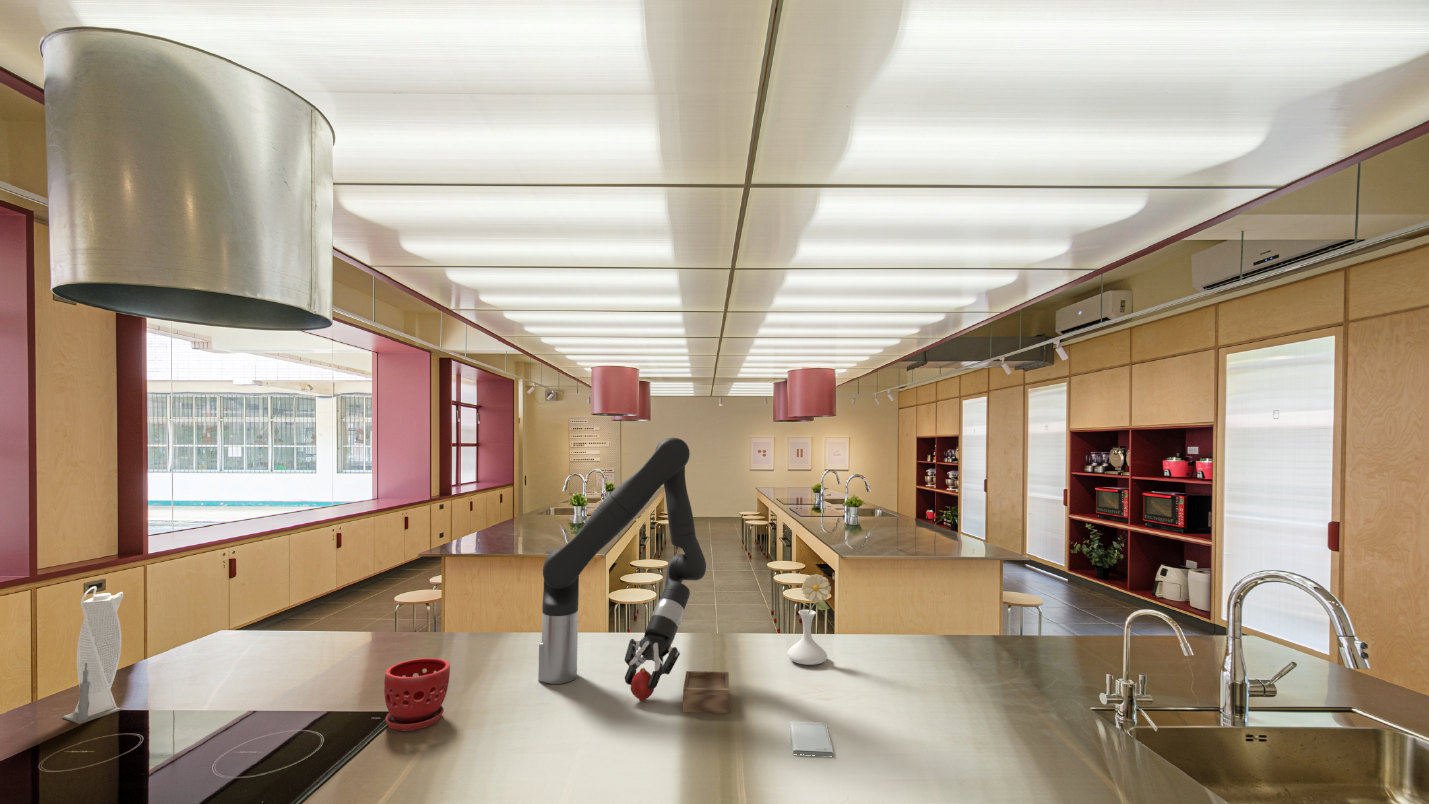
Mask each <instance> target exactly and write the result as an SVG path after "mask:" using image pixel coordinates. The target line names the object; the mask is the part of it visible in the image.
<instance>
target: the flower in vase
mask: <svg viewBox="0 0 1429 804" xmlns="http://www.w3.org/2000/svg"><path fill="white" fill-rule="evenodd" d="M830 585H831V583H830V582H829V579H828V578H827V577H824V576H823V575H821V574H818V573H816V574H811V575H810V576H808V577H807V576H806V577H805V579H804V580H803V583H802V585H801V591H802V594H803V597H804V598H806V600H808V601H812V602H813V605H811V607H810V609H800V610H799V611H798V614H799V615H800V617H801V621H802V629H803V630H802V637H801V639H800V640H799V641H797V642H796V643H795V644H793V645H792V646H791V647H790V648H789V649H788V650H787V653H786V656H787V657H788V659H789V660H791V662H794V663H797V664H799V665H806V666H814V665H815V666H816V665H819V664H822V663H824V662H826V661H827V658H828V654H827V652H826V651H825V650H824V648H823V647H821V645H819V644H818V643H817V642H816V641H815V640H814V639H813V636H812V623H813V619H814V617H815V615H816V614H817V612H816V611H815V610H813V607H815V606H816V608H817V610H819V611H827V610H829V609H831V608H830V606H829V605H828V604H827V603H826V602H825V600H827V599H828V595H830V593H831V589H832V587H831V586H830ZM798 601H799V602H800V603H801V604H804V605H805V606H807V607H809V604H807V603H805V602H803V601H801V600H800V599H798Z"/></svg>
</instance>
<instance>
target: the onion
mask: <svg viewBox="0 0 1429 804" xmlns="http://www.w3.org/2000/svg"><path fill="white" fill-rule="evenodd" d="M651 675H652V673H651V672H649V671H647V670H646V667H641V668H640V669H639V671H637V672H636V674H635V675H634V677H633V678H632V681H631V685H630V692H631V694H632V695H633V697H635V698H636V699H638V700H639V701H640V702H642V703H643V702H645V701H646V700H647V699H649V698H650V697H651V695H653V694H654V692H655V688H654V689H653V690H650V689H649V688H648V683H649V680H650V678H651Z"/></svg>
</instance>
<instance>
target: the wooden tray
mask: <svg viewBox="0 0 1429 804" xmlns="http://www.w3.org/2000/svg"><path fill="white" fill-rule="evenodd" d="M684 677H685V678H684V682H683V687H682V688H683V689H682V690H683V691H682V712H683V713H713V714H717V713H718V714H719V713H720V714H729V710H730V709H729V707H730V706H729V704H730V703H729V699H730V697H729V695H730V692H729V691H730V688H729V687H730V679H729V677H730V673H729V671H706V670H705V671H698V670H697V671H695V670H692V671H691V670H686V672H685V676H684Z"/></svg>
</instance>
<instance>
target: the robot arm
mask: <svg viewBox="0 0 1429 804" xmlns="http://www.w3.org/2000/svg"><path fill="white" fill-rule="evenodd" d="M690 456H691V455H690V448H689V445H688V444H687V443H686V442H685V441H684V440H683V439H680V438H679V437H668V438H665V439H663V440H660V442H659V443H658V444H657V445H656V447H655V450H654V452H653V454H652V455H651V456H650V457H649V459H648V460H647V461H646V462H645V463H644V464H643V466H642V467H640V469H639V470H638V471H636V472H635V473H634V474H632V475H631V476H630V477H629V478H627V479H626V480H625V481H623V482H622V483H620V485H618V486H617V487H615V488H614V489H613V490H612V492H610V494H609V495H607V496H606V497H605V498H604V499H603V501H602V502H601V503H600V504H599V505H598V506H596V508H595V509H594V511H593V512H592V513H591V515H590V516H589V517H588V518H587V520H586V521H585V523H584V524H583V526H582V528H580V530H579V531H578V532H577V533H576V534H575V536H574V537H573V538H572V539H571V540H569V542H567V543H566V544H565V545H564V546H563V547H559V548H556V549H553V550H552V551H551V552H550V553H549V554H548V555H547V556H546V558H545V560H544V562H543V567H542V577H543V592H542V594H543V595H542V605H541V607H542V608H541V609H542V611H541V612H542V613H541V614H542V615H541V616H542V617H541V641H540V642H539V645H538V673H537V674H538V675H537V676H538V677H537V678H538V679H537V681H538V682H543V683H545V684H550V685H560V684H566V683H569V682H572V681H573V680H575V679H576V678H577V676H578V638H579V636H578V635H579V634H578V631H579V630H578V629H579V628H578V627H579V625H578V624H579V598H580V597H579V595H580V592H579V591H580V590H579V588H580V587H579V586H580V584H579V583H580V579H579V578H580V574H581V573H582V572H583V570H585V568H586V566H588V564H589V563H590V561H592V560H593V558H594V557H595V556H596V555H597V554H598V553H599V552H600V551H602V549H603V548H605V546H607V544H608V543H610V542H611V541H612V540H613V539H614V538H615V537H617V536H618V534H619V533H621V532H622V531H623V530H624V529H625V528H626V527H627V526H628V524H629V523H631V522H632V520H634V519H635V517H637V515H638V514H639V513H640V512H641V511H642V509H643V508H645V506H646V505H647V504H648V502H649V501H650V500H651V499H652V497H653V496H654V495H655V493H656V492H657V491H658V490H659V488H661V487H662V486H663V488H664V493H665V500H666V511H667V513H666V514H667V521H668V522H667V523H668V529H669V535H670V536H669V537H670V542H671V544H672V546H674V547H676V548H679V549H681V550H682V551H683V553H679V554H678V553H677V554H674V556H672V557H671V558H670V560H669V562H668V565H667V569H666V577H665V584H664V589H663V590H662V593H661V596H660V598H659V600H658V602H657V604H656V605H655V607H654V609H653V611H652V615H651V616H650V619H649V621H648V623H647V625H646V628H645V631H644V635H643V637H642V639H640V640H635V639H634V638H631V639H630V640H629V643H628V646H627V649H626V653H625V656H624V662H625V663H626V664H627V666H628V669H627V670H626V672H625V673H626V674H625V675H624V681H625V683H626V685H628V686H629V685H630V686H631V681H632V678H633V677H634V675H635V674H636V673H637V670H638V668H640V666H641V665H643V664H645V662H646V661H652V662H654V670H653V671H652V672H651V678H650V680H649V683H648V688H649V689H650V690H653V689H654V690H655V688H657V687H658V684H659V681H660V679H661V676H662V675H670V674H671V672H672V670H673V668H674V666H675V664H676V663H677V661H678V659H679V657H680V654H681V653H680V650H678V648H677V647H676V646H673V647H672V644H673V642H674V640H675V637H676V635H677V632H678V629H679V627H680V626H681V621H682V619H683V614H684V611H685V609H686V607H687V604H688V602H689V601H688V600H689V598H690V596H691V595H690V594H691V593H690V589H689V587H688V586H686V585H685V584H684V583H682V582H683V581H700V580H701V579H702V578H704V576H705V574H706V571H707V562H706V561H707V560H706V558H705V555H704V552H703V550H702V549H701V546H700V543H699V541H698V539H697V536H696V528H695V521H694V515H693V511H692V506H691V501H690V498H689V494H688V490H687V489H688V488H687V482H686V465H687V464H688V462H689V460H690ZM639 648H640V649H639ZM666 655H668V656H667V657H666ZM664 657H666V659H665V661H664Z"/></svg>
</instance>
